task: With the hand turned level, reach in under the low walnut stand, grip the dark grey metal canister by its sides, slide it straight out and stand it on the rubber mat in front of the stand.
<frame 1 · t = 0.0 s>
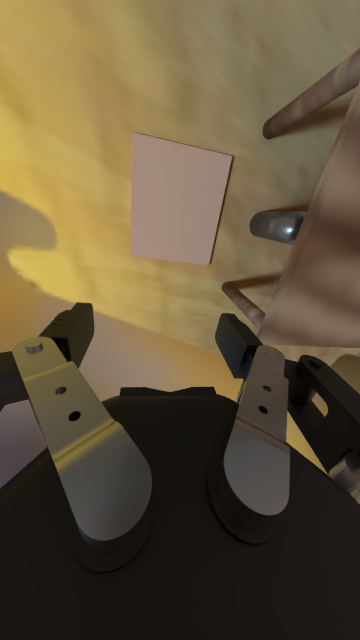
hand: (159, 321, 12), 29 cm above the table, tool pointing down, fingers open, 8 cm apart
rubber mat: (177, 210, 35), on the table
low stand: (278, 227, 39), on the table
metal canister: (260, 224, 38), on the table
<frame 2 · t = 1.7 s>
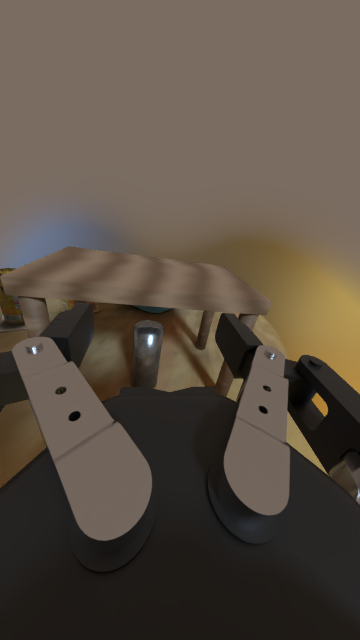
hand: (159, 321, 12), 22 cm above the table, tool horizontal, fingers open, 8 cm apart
candy box: (82, 313, 53), on the table
low stand: (145, 366, 39), on the table
metal canister: (144, 382, 35), on the table
condiment: (21, 321, 46), on the table
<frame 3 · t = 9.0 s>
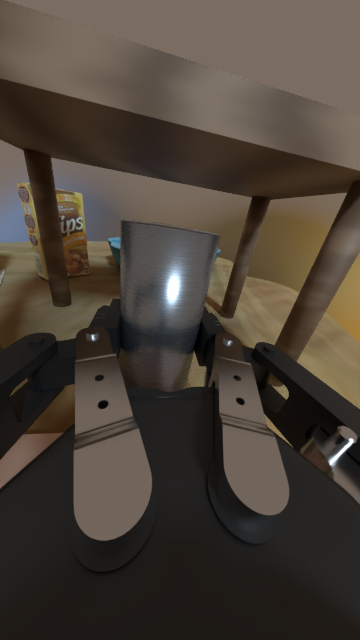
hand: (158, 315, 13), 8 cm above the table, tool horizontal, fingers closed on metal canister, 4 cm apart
candy box: (65, 275, 40), on the table
low stand: (151, 334, 25), on the table
metal canister: (152, 401, 14), point 2 cm above the table, touching gripper
when the fingers open (7 cm above the table, at t = 11.5 s): metal canister stays where it is, resting on rubber mat.
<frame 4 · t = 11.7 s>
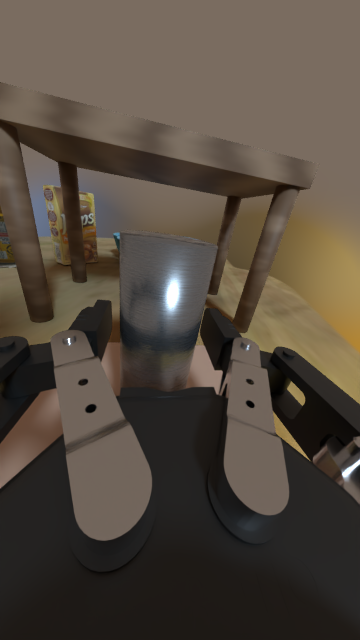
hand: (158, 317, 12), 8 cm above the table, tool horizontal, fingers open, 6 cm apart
candy box: (77, 262, 48), on the table
rubber mat: (150, 411, 15), on the table
low stand: (150, 301, 33), on the table
metal canister: (151, 406, 14), point 1 cm above the table, touching rubber mat
condiment: (7, 263, 40), on the table
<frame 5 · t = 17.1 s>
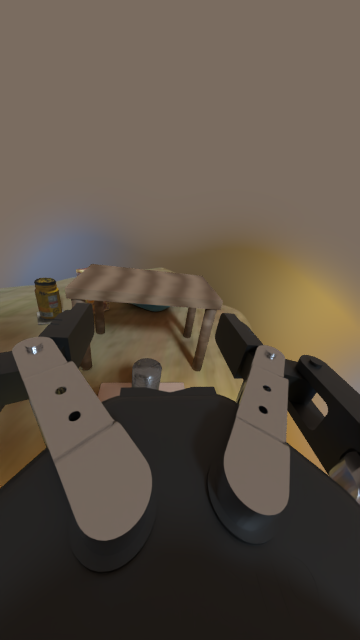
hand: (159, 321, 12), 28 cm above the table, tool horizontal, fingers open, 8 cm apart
casserole dish: (158, 298, 88), on the table
candy box: (95, 311, 68), on the table
rubber mat: (142, 417, 36), on the table
low stand: (145, 348, 54), on the table
metal canister: (142, 416, 35), point 1 cm above the table, touching rubber mat
condiment: (51, 317, 61), on the table
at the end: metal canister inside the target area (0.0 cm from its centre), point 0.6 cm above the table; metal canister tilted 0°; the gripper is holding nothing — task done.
